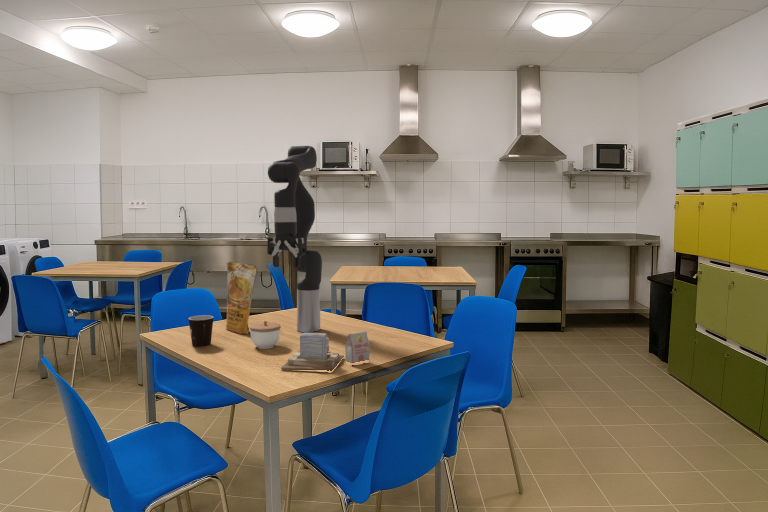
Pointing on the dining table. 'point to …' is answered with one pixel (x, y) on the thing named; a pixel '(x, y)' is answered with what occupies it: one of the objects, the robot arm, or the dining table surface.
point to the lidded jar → (265, 334)
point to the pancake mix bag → (239, 295)
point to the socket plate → (297, 367)
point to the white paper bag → (357, 347)
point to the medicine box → (313, 346)
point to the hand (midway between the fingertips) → (286, 267)
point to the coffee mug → (201, 330)
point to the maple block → (327, 344)
